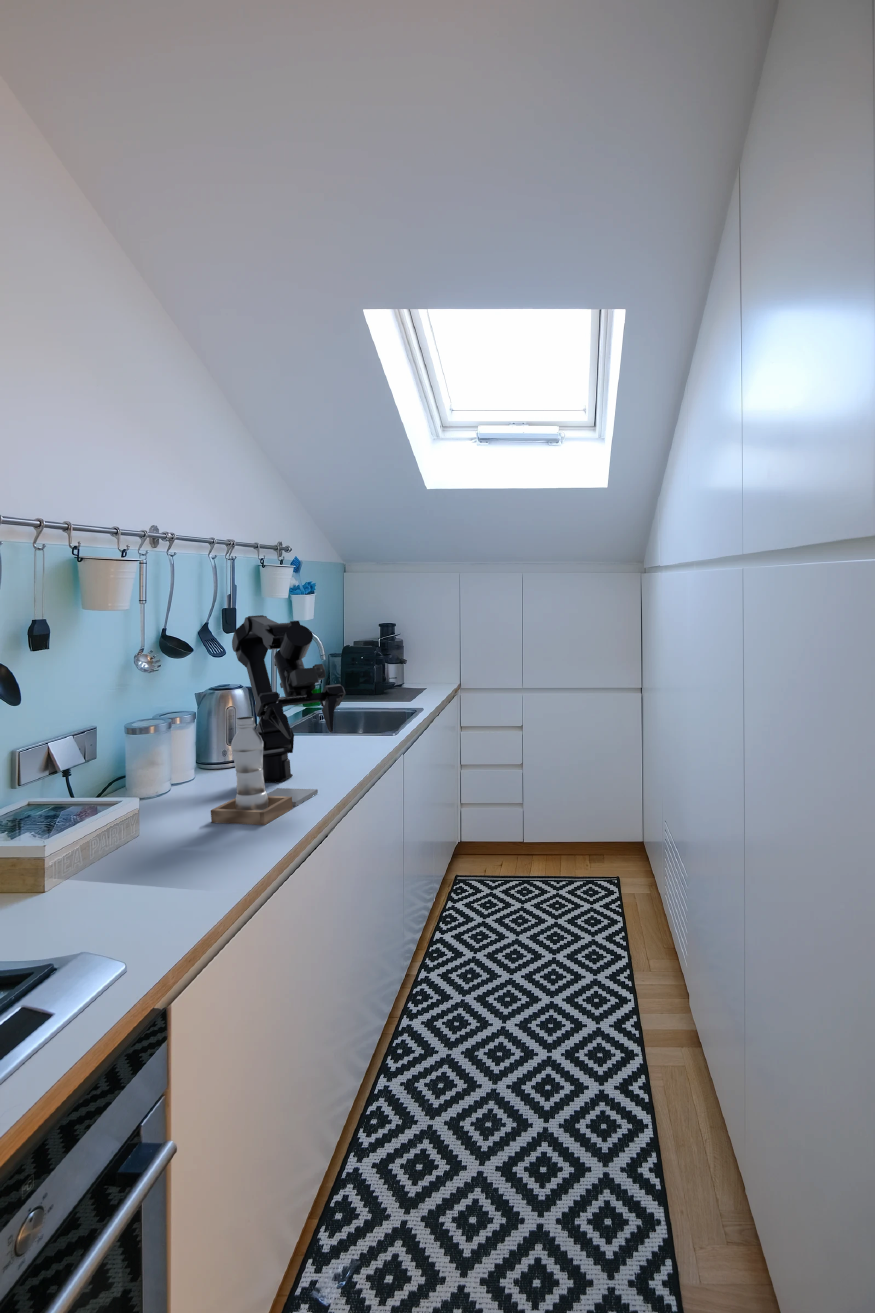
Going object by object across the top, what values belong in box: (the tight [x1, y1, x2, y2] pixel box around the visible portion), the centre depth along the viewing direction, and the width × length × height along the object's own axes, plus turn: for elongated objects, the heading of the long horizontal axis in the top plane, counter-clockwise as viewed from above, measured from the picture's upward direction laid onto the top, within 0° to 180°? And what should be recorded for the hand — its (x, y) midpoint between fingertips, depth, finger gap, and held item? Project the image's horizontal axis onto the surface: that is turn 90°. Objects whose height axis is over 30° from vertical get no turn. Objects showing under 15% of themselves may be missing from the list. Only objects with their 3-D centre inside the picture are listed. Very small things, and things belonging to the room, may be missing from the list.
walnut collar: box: [210, 796, 294, 826], centre depth 153 cm, size 12×11×2 cm
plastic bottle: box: [230, 715, 268, 811], centre depth 152 cm, size 6×7×20 cm
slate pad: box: [267, 787, 319, 807], centre depth 164 cm, size 10×10×1 cm
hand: (311, 735), depth 157 cm, fingers open, 9 cm apart
